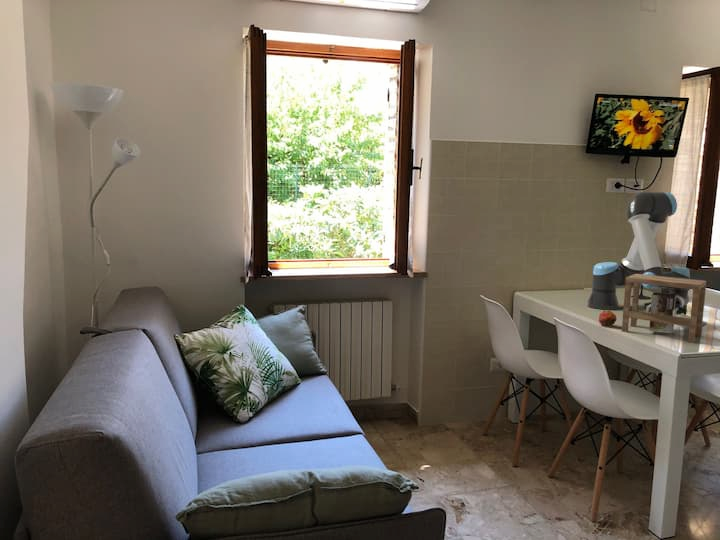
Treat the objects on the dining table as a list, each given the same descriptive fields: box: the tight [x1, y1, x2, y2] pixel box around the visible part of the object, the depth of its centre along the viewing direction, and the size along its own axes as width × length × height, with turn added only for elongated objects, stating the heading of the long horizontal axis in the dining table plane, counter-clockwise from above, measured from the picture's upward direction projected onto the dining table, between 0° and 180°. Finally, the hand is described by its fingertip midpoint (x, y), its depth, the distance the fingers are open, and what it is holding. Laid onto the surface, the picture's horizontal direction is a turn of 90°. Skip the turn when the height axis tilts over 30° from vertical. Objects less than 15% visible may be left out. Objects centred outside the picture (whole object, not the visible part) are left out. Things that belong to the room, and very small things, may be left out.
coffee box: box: [648, 291, 676, 334], centre depth 249 cm, size 9×6×16 cm
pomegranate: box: [598, 309, 617, 328], centre depth 262 cm, size 7×7×10 cm
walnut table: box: [621, 274, 708, 344], centre depth 248 cm, size 15×28×24 cm, turn 49°
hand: (660, 311), depth 245 cm, fingers closed on coffee box, 10 cm apart
